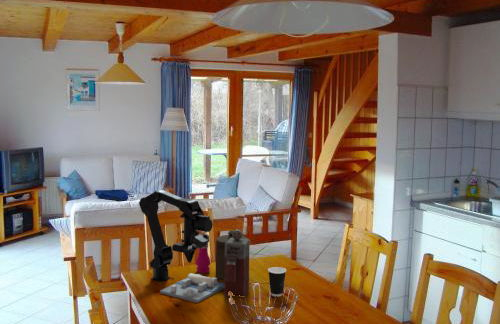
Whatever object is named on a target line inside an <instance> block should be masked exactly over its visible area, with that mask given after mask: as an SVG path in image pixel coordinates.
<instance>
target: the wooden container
mask: <svg viewBox="0 0 500 324" xmlns="http://www.w3.org/2000/svg"><path fill="white" fill-rule="evenodd" d="M234 231H235V230H232V229H231V230H229V231H228V233H227V234H226V235H220V236H217V237H216V241H215V242H216V246H215V249H216V250H215V278H217V279H220V280H223V281H225V243H226V242H227V241H228V240H229V239H230V238H233V237H232V233H233V232H234ZM242 239H248V238H247V237H245V236H242Z"/></svg>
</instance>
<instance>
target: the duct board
mask: <svg viewBox="0 0 500 324" xmlns="http://www.w3.org/2000/svg"><path fill="white" fill-rule="evenodd" d="M196 275H201V276H202V273H196ZM212 278H213V279H214V285H213V287H207V283H206V282H203V283H201V284H194V283H191V279H188V278H187V277H186V278H184V279H182V280H180V281H177V282H176V283H174V284H172V285H169V286H167V287H165V288H163V289H160V290H159V292H160V293H159V294H162V295H166V296H170V297H174V298H178V299H182V300H186V301H189V302H192V303H197V304H198V303H201V302H202V301H204V300H205V299H208V298H209V297H212V296H213V295H214V294H217V293H219V292H220V291H223V290H224V289H225V282H218V278H217V277H216V276H215V277H212Z"/></svg>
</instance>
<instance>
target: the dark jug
mask: <svg viewBox="0 0 500 324" xmlns="http://www.w3.org/2000/svg"><path fill="white" fill-rule="evenodd" d="M233 231H234V232H233V233H232V237H233V238H230V239H229V240H228V241H227V242H226V243H225V280H224V284H225V288H224V289H223V290H224V293H223V294H224V297H228V296H227V295H228V292H229V291H231V292H232V293H233V295H235V296H239V295H240V296H245V295H246V294H248V293H249V291H250V288H249V287H250V241H251V240H250V239H249V238H247V239H242V236H243V235H244V234H243V231H242V230H241V229H237V228H236V229H235V230H233ZM243 237H244V236H243ZM248 290H249V291H248ZM247 292H248V293H247ZM246 296H247V295H246ZM246 296H245V297H246Z"/></svg>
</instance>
